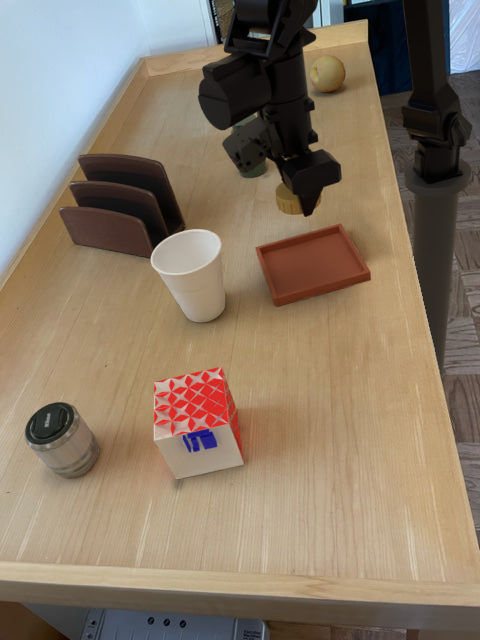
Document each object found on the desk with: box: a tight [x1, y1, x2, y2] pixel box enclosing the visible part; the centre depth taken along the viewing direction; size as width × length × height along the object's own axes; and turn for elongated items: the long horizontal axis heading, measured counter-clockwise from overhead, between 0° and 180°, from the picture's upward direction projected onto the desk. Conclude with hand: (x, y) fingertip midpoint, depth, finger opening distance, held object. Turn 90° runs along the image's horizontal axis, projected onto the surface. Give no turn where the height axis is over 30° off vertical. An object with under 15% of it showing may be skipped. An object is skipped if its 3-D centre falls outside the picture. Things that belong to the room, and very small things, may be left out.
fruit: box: [309, 54, 347, 93], centre depth 123 cm, size 8×8×8 cm
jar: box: [230, 113, 268, 179], centre depth 103 cm, size 6×6×11 cm
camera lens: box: [24, 401, 100, 479], centre depth 62 cm, size 6×6×8 cm
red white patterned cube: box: [153, 366, 245, 480], centre depth 60 cm, size 8×8×8 cm
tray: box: [254, 222, 372, 307], centre depth 81 cm, size 14×13×2 cm
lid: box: [274, 181, 322, 216], centre depth 74 cm, size 6×6×2 cm
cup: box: [150, 228, 226, 323], centre depth 76 cm, size 10×10×11 cm
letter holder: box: [58, 153, 186, 259], centre depth 94 cm, size 10×20×14 cm, turn 61°
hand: (300, 204), depth 75 cm, fingers closed on lid, 6 cm apart
